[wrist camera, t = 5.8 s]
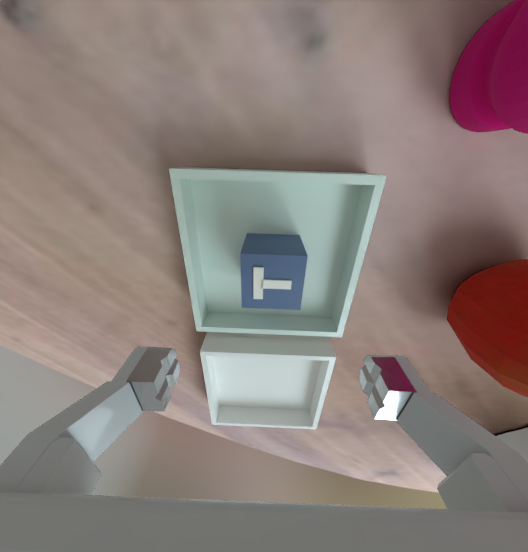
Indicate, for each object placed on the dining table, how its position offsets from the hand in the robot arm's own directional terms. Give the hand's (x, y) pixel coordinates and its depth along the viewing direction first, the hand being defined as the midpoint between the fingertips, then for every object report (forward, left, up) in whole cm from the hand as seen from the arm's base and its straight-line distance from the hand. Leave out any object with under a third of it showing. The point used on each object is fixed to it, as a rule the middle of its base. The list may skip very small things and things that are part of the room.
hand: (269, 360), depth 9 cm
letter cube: (0, 0, -11) cm, 11 cm away
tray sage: (0, 0, -12) cm, 12 cm away
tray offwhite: (0, +17, -12) cm, 21 cm away
